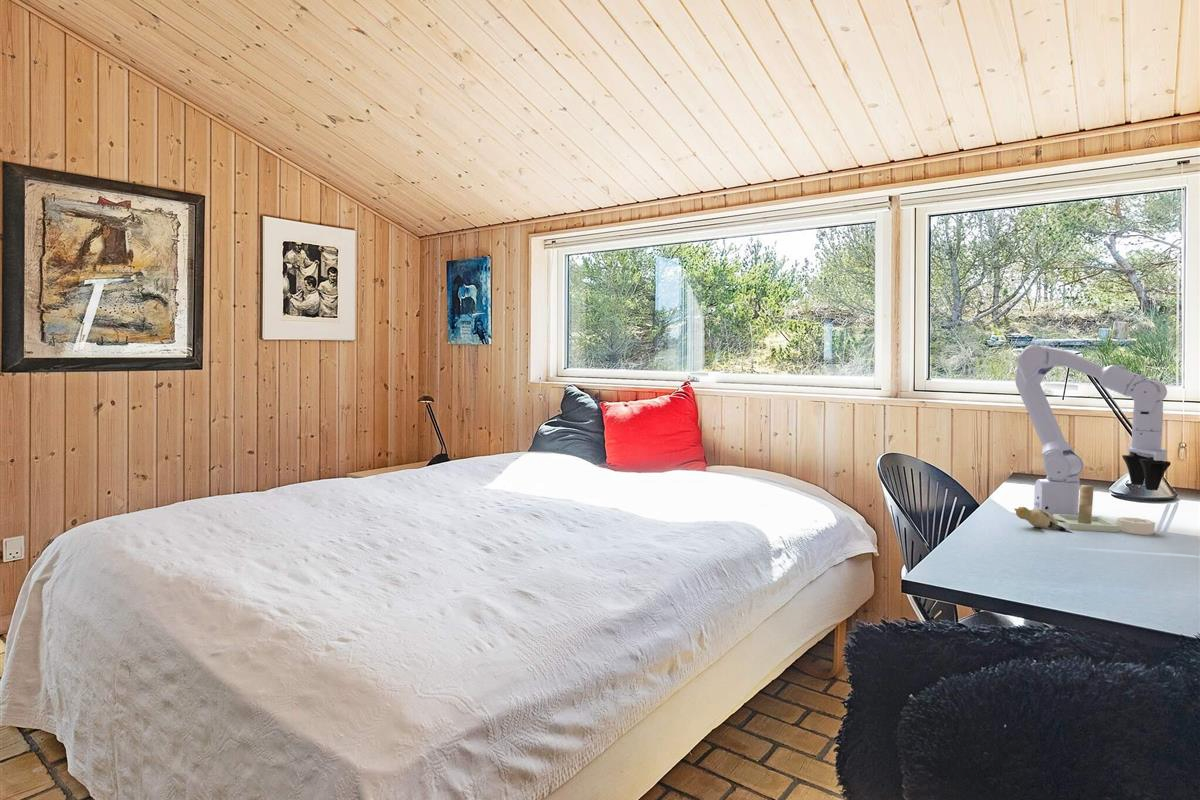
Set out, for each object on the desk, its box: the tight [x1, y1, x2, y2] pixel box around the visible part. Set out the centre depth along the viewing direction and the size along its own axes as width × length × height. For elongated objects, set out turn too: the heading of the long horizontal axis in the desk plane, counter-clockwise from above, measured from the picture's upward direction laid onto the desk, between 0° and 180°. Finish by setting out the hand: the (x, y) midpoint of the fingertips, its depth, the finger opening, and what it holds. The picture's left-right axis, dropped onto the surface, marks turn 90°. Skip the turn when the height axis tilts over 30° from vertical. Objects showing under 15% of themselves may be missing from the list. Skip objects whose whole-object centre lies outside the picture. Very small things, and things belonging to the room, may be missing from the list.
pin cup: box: [1116, 516, 1156, 536], centre depth 167 cm, size 6×6×3 cm
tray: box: [1052, 514, 1120, 533], centre depth 172 cm, size 10×11×2 cm
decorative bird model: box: [1014, 506, 1073, 534], centre depth 169 cm, size 4×13×10 cm
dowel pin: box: [1078, 484, 1094, 524], centre depth 172 cm, size 3×3×9 cm
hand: (1144, 487), depth 174 cm, fingers open, 7 cm apart
